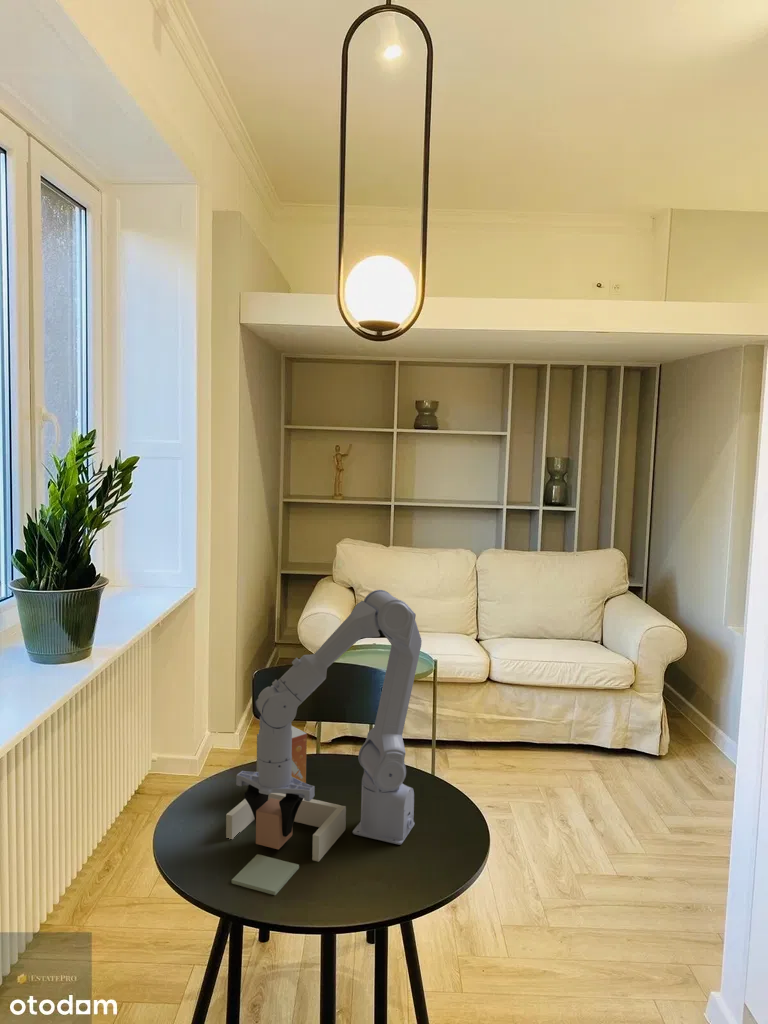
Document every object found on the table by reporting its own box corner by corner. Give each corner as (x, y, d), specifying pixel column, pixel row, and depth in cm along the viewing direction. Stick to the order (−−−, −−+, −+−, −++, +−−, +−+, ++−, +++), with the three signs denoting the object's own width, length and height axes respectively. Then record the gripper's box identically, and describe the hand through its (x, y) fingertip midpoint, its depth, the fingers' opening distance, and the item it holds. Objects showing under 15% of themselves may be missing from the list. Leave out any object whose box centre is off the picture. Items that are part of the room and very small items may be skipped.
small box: (273, 807, 142) (274, 743, 141) (255, 796, 146) (255, 733, 145) (306, 794, 147) (307, 732, 146) (288, 783, 152) (288, 723, 151)
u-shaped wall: (345, 829, 134) (345, 806, 134) (318, 861, 124) (319, 836, 124) (258, 809, 141) (258, 787, 140) (226, 838, 131) (226, 814, 130)
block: (292, 835, 130) (292, 803, 129) (278, 849, 125) (279, 816, 125) (270, 829, 131) (270, 797, 131) (255, 843, 127) (256, 810, 126)
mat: (298, 868, 122) (299, 864, 122) (275, 895, 115) (275, 891, 114) (257, 857, 125) (257, 854, 125) (231, 883, 117) (231, 879, 117)
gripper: (226, 757, 126) (226, 832, 127) (301, 773, 120) (300, 851, 122) (248, 742, 132) (247, 813, 133) (320, 756, 127) (319, 830, 128)
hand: (274, 830), depth 128 cm, fingers closed on block, 4 cm apart
